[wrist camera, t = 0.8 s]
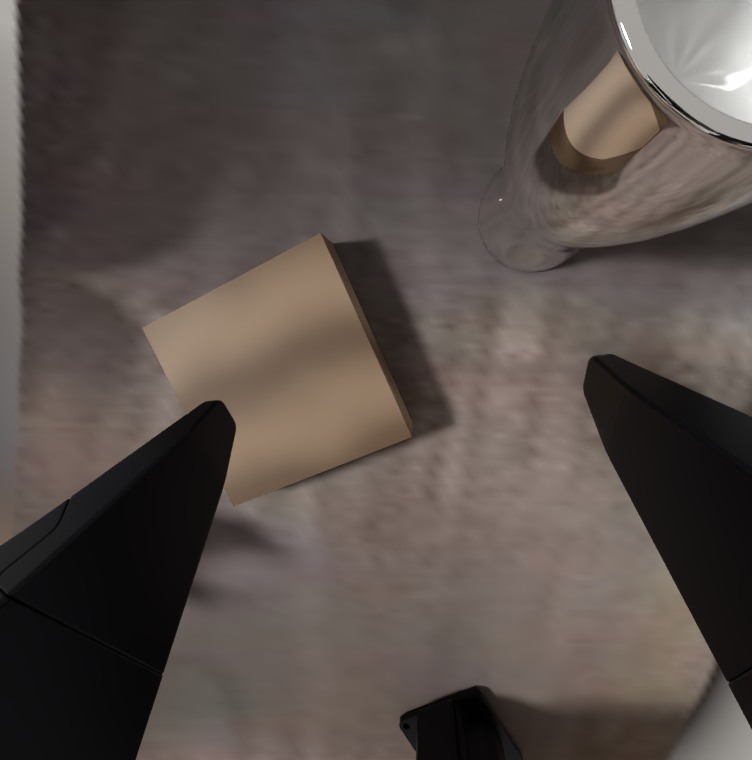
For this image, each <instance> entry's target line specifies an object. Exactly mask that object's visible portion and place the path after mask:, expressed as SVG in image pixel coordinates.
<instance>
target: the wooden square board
mask: <svg viewBox="0 0 752 760" xmlns="http://www.w3.org/2000/svg"><path fill="white" fill-rule="evenodd" d="M143 330H144V332H145V334H146V336H147V338H148V340H149V342H150V344H151V346H152V348H153V350H154V352H155V354H156V356H157V358H158V360H159V362H160V364H161V366H162V368H163V370H164V372H165V374H166V375H167V377H168V379H169V381H170V383H171V385H172V387H173V389H174V391H175V393H176V395H177V397H178V399H179V401H180V403H181V405H182V407H183V409H184V411H185V413H186V414H188V413H189V412H190V411H192V410H193V409H195V408H196V407H197V406H199V405H200V404H202V403H203V402H205V401H211V400H221V401H222V402H223V403H224V404H225V406H226V407H227V409H228V411H229V412H230V414H231V416H232V417H233V419H234V421H235V423H236V433H235V438H234V443H233V448H232V452H231V457H230V462H229V467H228V471H227V476H226V480H225V484H224V489H225V491H226V493H227V495H228V497H229V499H230V501H231V503H232V505H233V507H234V506H236V505H239V504H241V503H244V502H246V501H249V500H252V499H254V498H257V497H259V496H262V495H264V494H267V493H269V492H272V491H275V490H277V489H280V488H282V487H285V486H287V485H290V484H293V483H295V482H298V481H300V480H303V479H305V478H308V477H311V476H313V475H316V474H318V473H321V472H323V471H326V470H329V469H331V468H334V467H336V466H339V465H341V464H344V463H347V462H349V461H352V460H354V459H357V458H359V457H362V456H365V455H367V454H370V453H372V452H375V451H377V450H380V449H383V448H385V447H388V446H390V445H393V444H395V443H398V442H401V441H403V440H406V439H408V438H411V437H412V433H413V422H412V420H411V418H410V416H409V413H408V411H407V409H406V407H405V404H404V402H403V400H402V398H401V395H400V393H399V391H398V389H397V386H396V384H395V382H394V380H393V378H392V375H391V373H390V371H389V369H388V366H387V364H386V362H385V360H384V357H383V355H382V353H381V351H380V348H379V346H378V344H377V342H376V339H375V337H374V335H373V333H372V330H371V328H370V326H369V324H368V322H367V319H366V317H365V315H364V313H363V310H362V308H361V306H360V304H359V301H358V299H357V297H356V295H355V292H354V290H353V288H352V286H351V283H350V281H349V279H348V277H347V274H346V272H345V270H344V268H343V266H342V263H341V261H340V259H339V257H338V254H337V252H336V250H335V248H334V245H333V243H332V242H331V241H329V240H328V239H327V238H326V237H325V236H323V235H322V234H321V233H319V234H318V235H316V236H314V237H312V238H310V239H308V240H306V241H304V242H303V243H301V244H299V245H297V246H295V247H293V248H291V249H289V250H288V251H286V252H284V253H282V254H280V255H278V256H276V257H274V258H273V259H271V260H269V261H267V262H265V263H263V264H261V265H259V266H258V267H256V268H254V269H252V270H250V271H248V272H246V273H244V274H243V275H241V276H239V277H237V278H235V279H233V280H231V281H229V282H228V283H226V284H224V285H222V286H220V287H218V288H216V289H214V290H213V291H211V292H209V293H207V294H205V295H203V296H201V297H199V298H198V299H196V300H194V301H192V302H190V303H188V304H186V305H184V306H183V307H181V308H179V309H177V310H175V311H173V312H171V313H169V314H168V315H166V316H164V317H162V318H160V319H158V320H156V321H154V322H153V323H151V324H149V325H147V326H145V327H143Z"/></svg>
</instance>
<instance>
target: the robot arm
mask: <svg viewBox="0 0 752 760" xmlns="http://www.w3.org/2000/svg"><path fill="white" fill-rule="evenodd" d="M583 390H584V395H585V398H586V400H587V403H588V406H589V408H590V411H591V414H592V416H593V419H594V422H595V424H596V427H597V430H598V432H599V435H600V438H601V440H602V443H603V445H604V448H605V450H606V452H607V454H608V456H609V458H610V460H611V462H612V464H613V466H614V468H615V470H616V472H617V474H618V476H619V478H620V479H621V481H622V483H623V485H624V487H625V489H626V491H627V493H628V495H629V497H630V498H631V500H632V502H633V504H634V506H635V508H636V510H637V512H638V514H639V516H640V517H641V519H642V521H643V523H644V525H645V527H646V529H647V531H648V533H649V534H650V536H651V538H652V540H653V542H654V544H655V546H656V548H657V550H658V552H659V553H660V555H661V557H662V559H663V561H664V563H665V565H666V567H667V569H668V570H669V572H670V574H671V576H672V578H673V580H674V582H675V584H676V586H677V588H678V589H679V591H680V593H681V595H682V597H683V599H684V601H685V603H686V605H687V607H688V608H689V610H690V612H691V614H692V616H693V618H694V620H695V622H696V624H697V625H698V627H699V629H700V631H701V633H702V635H703V637H704V639H705V641H706V643H707V644H708V646H709V648H710V650H711V652H712V654H713V656H714V658H715V660H716V662H717V663H718V665H719V667H720V669H721V671H722V673H723V675H724V677H725V678H726V680H727V681H729V687H730V689H731V691H732V692H733V694H734V696H735V698H736V700H737V702H738V703H739V706H740V708H741V710H742V711H743V713H744V715H745V717H746V719H747V721H748V723H749V725H750V727H751V729H752V417H751V416H748V415H746V414H744V413H742V412H740V411H737V410H735V409H733V408H731V407H728V406H726V405H724V404H722V403H720V402H717V401H715V400H713V399H711V398H708V397H706V396H704V395H702V394H700V393H697V392H695V391H693V390H691V389H688V388H686V387H684V386H682V385H680V384H677V383H675V382H673V381H671V380H668V379H666V378H664V377H662V376H660V375H657V374H655V373H653V372H651V371H648V370H646V369H644V368H642V367H640V366H637V365H635V364H633V363H631V362H628V361H626V360H624V359H622V358H619V357H617V356H615V355H612V354H606V355H597V356H593V357H591V358H590V359H589V362H588V366H587V370H586V375H585V379H584V385H583ZM235 433H236V423H235V421H234V419H233V417H232V416H231V414H230V412H229V411H228V409H227V407H226V406H225V404H224V403H223V402H222V401H221V400H211V401H205V402H203V403H202V404H200V405H199V406H197V407H196V408H195V409H193V410H192V411H190V412H189V413H188V414H186V415H185V416H183V417H182V418H181V419H179V420H178V421H176V422H175V423H174V424H172V425H171V426H169V427H168V428H167V429H165V430H164V431H162V432H161V433H160V434H158V435H157V436H155V437H154V438H153V439H151V440H150V441H149V442H147V443H146V444H144V445H143V446H142V447H140V448H139V449H137V450H136V451H135V452H133V453H132V454H130V455H129V456H128V457H126V458H125V459H123V460H122V461H121V462H119V463H118V464H116V465H115V466H114V467H112V468H111V469H109V470H108V471H107V472H105V473H104V474H102V475H101V476H100V477H98V478H97V479H95V480H94V481H93V482H91V483H90V484H88V485H87V486H86V487H84V488H83V489H81V490H80V491H79V492H77V493H76V494H74V495H73V496H72V497H71V499H67V500H66V501H64V502H63V503H62V504H60V505H59V506H57V507H56V508H55V509H53V510H52V511H51V512H49V513H48V514H46V515H45V516H43V517H42V518H40V519H39V520H38V521H36V522H35V523H33V524H32V525H30V526H29V527H28V528H26V529H25V530H23V531H22V532H20V533H19V534H17V535H16V536H14V537H13V538H11V539H10V540H8V541H7V542H5V543H4V544H2V545H1V546H0V760H136V757H137V754H138V750H139V747H140V744H141V741H142V738H143V735H144V732H145V729H146V726H147V723H148V719H149V716H150V713H151V710H152V707H153V704H154V701H155V698H156V695H157V692H158V689H159V686H160V682H161V679H162V674H163V672H164V669H165V666H166V663H167V660H168V657H169V654H170V651H171V648H172V645H173V642H174V638H175V635H176V632H177V629H178V626H179V623H180V620H181V617H182V614H183V611H184V608H185V605H186V601H187V598H188V595H189V592H190V589H191V586H192V583H193V580H194V577H195V574H196V571H197V567H198V564H199V561H200V558H201V555H202V552H203V549H204V546H205V543H206V540H207V537H208V534H209V530H210V527H211V524H212V521H213V518H214V515H215V512H216V509H217V506H218V503H219V500H220V496H221V493H222V490H223V487H224V484H225V480H226V476H227V471H228V467H229V462H230V457H231V452H232V448H233V443H234V438H235ZM474 697H476V698H474ZM400 729H401V730H402V732H403V733H404V735H405V736H406V738H407V739H408V740H409V742H410V743H411V745H412V746H413V748H414V749H415V751H416V760H523V756H522V754H521V752H520V751H519V749H518V747H517V746H516V744H515V743H514V741H513V740H512V738H511V737H510V735H509V734H508V732H507V731H506V729H505V728H504V726H503V724H502V723H501V721H500V720H499V718H498V717H497V715H496V714H495V712H494V711H493V709H492V708H491V706H490V704H489V703H488V701H487V700H486V698H485V697H484V695H483V694H482V692H481V691H480V690H479V689H476V688H472V689H469V690H466V691H464V692H461V693H459V694H456V695H453V696H451V697H448V698H445V699H443V700H440V701H438V702H435V703H432V704H430V705H427V706H425V707H422V708H419V709H417V710H414V711H411V712H409V713H406V714H404V715H402V716H401V717H400Z"/></svg>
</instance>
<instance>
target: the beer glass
mask: <svg viewBox="0 0 752 760" xmlns="http://www.w3.org/2000/svg"><path fill="white" fill-rule="evenodd" d="M751 204H752V0H552V1H551V3H550V6H549V8H548V10H547V13H546V15H545V17H544V19H543V22H542V24H541V26H540V29H539V31H538V33H537V36H536V38H535V40H534V43H533V45H532V48H531V51H530V54H529V57H528V59H527V62H526V65H525V68H524V71H523V74H522V77H521V80H520V83H519V86H518V89H517V92H516V95H515V99H514V104H513V109H512V113H511V118H510V123H509V128H508V133H507V141H506V150H505V159H504V166H503V167H502V168H501V169H500V170H499V171H498V172H497V173H496V174H495V175H494V177H493V178H492V179H491V181H490V182H489V184H488V186H487V187H486V189H485V191H484V194H483V196H482V199H481V202H480V207H479V214H478V223H479V230H480V234H481V237H482V240H483V242H484V244H485V246H486V248H487V249H488V251H489V252H490V253H491V254H492V256H493V257H494V258H495V259H497V260H498V261H499V262H500V263H502V264H504V265H505V266H507V267H510V268H512V269H515V270H519V271H525V272H537V271H544V270H548V269H551V268H554V267H556V266H558V265H560V264H562V263H564V262H566V261H567V260H569V259H570V258H571V257H573V256H574V255H575V254H576V253H577V252H578V251H579V250H580V249H581V248H594V247H608V246H616V245H622V244H628V243H634V242H640V241H646V240H650V239H654V238H658V237H661V236H665V235H668V234H671V233H674V232H678V231H681V230H684V229H687V228H690V227H694V226H697V225H700V224H703V223H705V222H708V221H710V220H713V219H715V218H718V217H720V216H723V215H725V214H728V213H731V212H733V211H736V210H738V209H741V208H743V207H746V206H748V205H751Z"/></svg>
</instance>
